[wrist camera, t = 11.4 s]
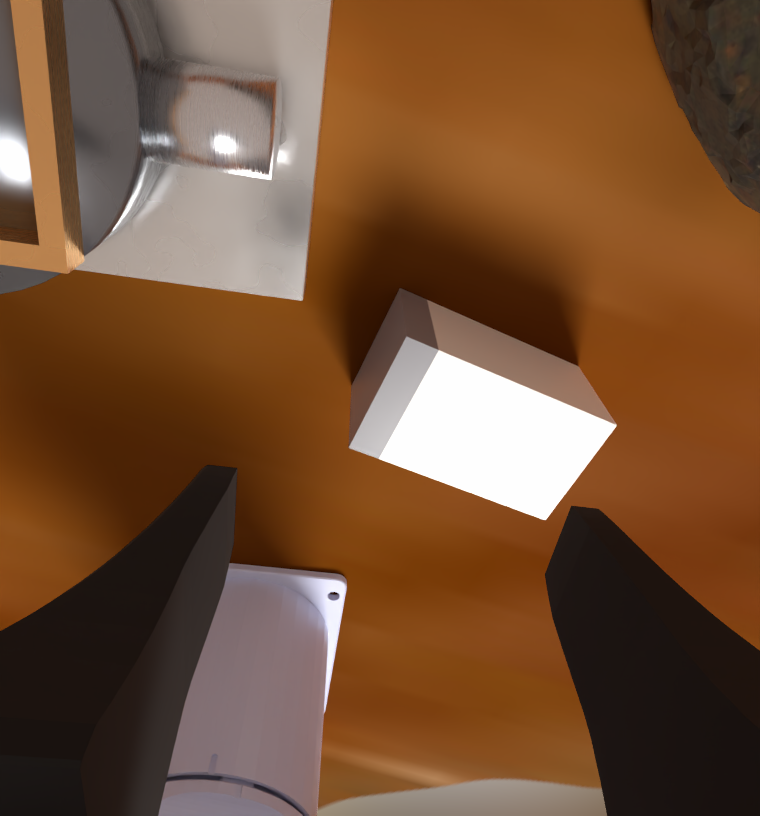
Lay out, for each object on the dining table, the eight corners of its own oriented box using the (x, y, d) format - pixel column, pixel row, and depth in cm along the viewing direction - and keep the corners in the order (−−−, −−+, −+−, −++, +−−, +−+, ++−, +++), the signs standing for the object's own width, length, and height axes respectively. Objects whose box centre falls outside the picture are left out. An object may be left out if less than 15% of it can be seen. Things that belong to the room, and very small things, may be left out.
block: (545, 520, 21) (348, 447, 19) (519, 451, 24) (351, 385, 22) (616, 425, 19) (406, 336, 17) (578, 365, 22) (400, 287, 21)
